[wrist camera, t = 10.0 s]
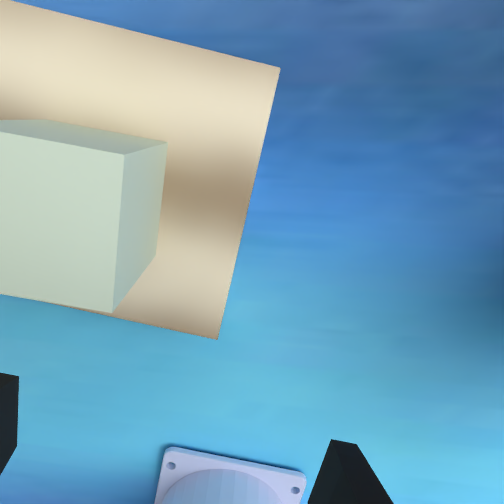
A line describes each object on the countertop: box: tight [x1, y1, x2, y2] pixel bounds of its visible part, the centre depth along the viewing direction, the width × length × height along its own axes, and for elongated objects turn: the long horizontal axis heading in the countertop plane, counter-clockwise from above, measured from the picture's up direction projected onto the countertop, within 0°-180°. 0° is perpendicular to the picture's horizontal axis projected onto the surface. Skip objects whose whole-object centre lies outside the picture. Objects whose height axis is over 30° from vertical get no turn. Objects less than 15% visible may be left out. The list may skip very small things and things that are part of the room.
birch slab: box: [0, 0, 280, 340], centre depth 17 cm, size 11×11×3 cm
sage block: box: [0, 119, 168, 313], centre depth 13 cm, size 4×4×5 cm
